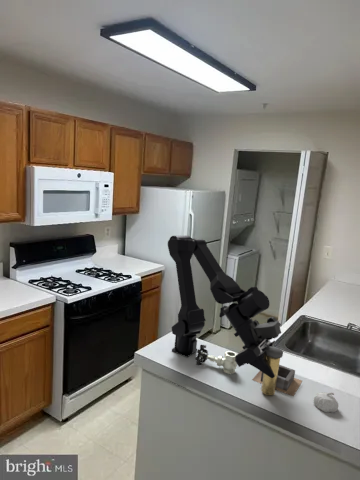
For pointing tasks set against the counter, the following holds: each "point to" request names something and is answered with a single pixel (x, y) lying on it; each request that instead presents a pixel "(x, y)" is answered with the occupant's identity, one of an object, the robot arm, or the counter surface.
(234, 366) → the valve
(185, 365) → the counter surface
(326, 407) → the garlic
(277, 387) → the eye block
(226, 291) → the robot arm
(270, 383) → the grey-topped tan cylinder
